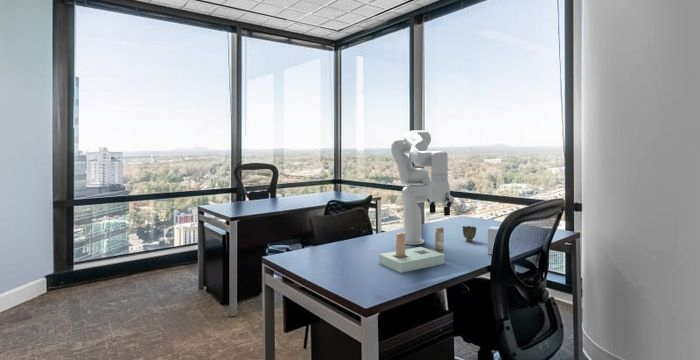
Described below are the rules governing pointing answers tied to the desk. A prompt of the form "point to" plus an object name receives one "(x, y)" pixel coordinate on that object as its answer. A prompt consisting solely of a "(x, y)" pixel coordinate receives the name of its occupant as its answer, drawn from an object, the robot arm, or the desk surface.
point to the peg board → (412, 259)
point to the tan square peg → (400, 245)
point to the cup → (469, 233)
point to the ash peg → (439, 240)
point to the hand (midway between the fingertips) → (439, 214)
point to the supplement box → (491, 237)
